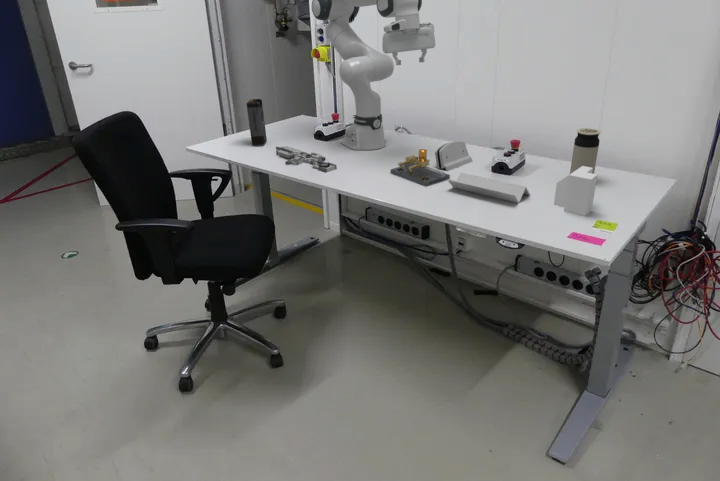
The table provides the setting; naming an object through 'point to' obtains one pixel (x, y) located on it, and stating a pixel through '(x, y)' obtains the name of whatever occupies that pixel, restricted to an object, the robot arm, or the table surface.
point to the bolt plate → (419, 172)
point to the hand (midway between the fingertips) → (410, 63)
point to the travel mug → (585, 149)
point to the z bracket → (489, 187)
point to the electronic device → (256, 122)
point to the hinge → (452, 155)
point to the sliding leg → (420, 160)
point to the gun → (304, 158)
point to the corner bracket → (577, 191)
